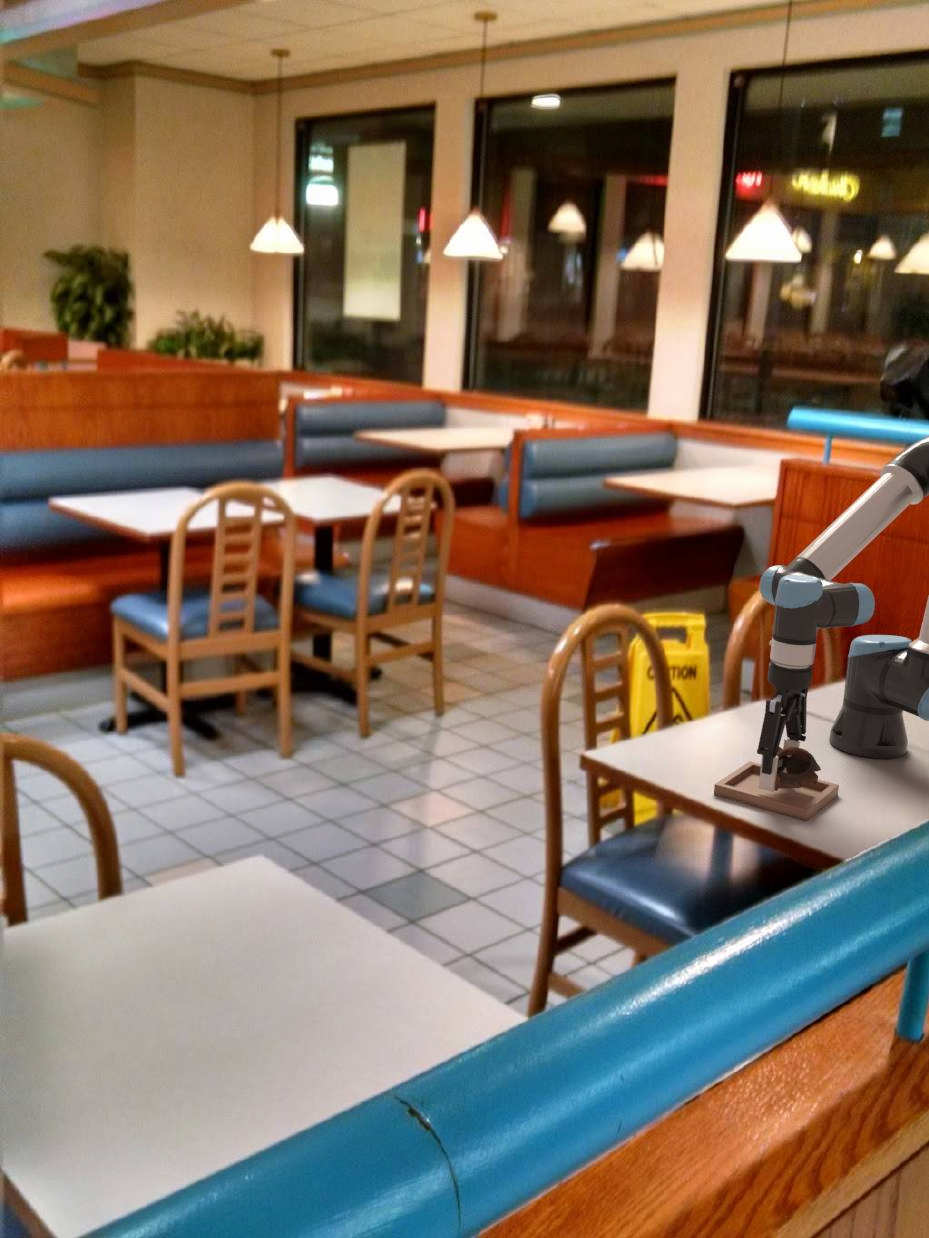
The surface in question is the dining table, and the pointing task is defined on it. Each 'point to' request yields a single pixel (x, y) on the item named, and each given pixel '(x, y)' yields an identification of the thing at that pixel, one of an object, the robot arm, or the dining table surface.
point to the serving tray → (775, 793)
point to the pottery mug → (795, 768)
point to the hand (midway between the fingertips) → (777, 781)
